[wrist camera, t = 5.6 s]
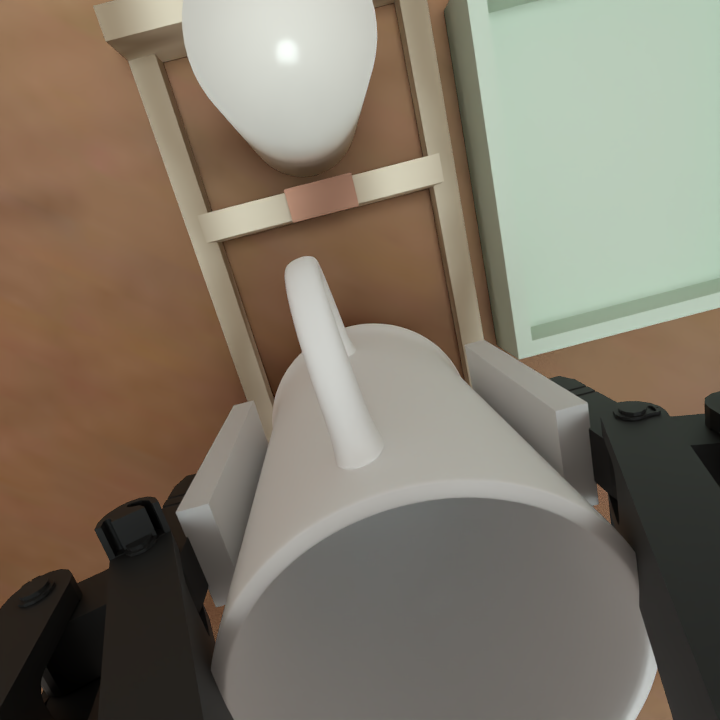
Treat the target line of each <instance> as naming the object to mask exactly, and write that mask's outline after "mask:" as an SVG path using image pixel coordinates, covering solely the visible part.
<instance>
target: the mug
mask: <svg viewBox="0 0 720 720" xmlns="http://www.w3.org/2000/svg"><path fill="white" fill-rule="evenodd" d="M285 285H286V292H287V297H288V302H289V306H290V310H291V314H292V318H293V322H294V326H295V330H296V333H297V337H298V340H299V344H300V347H301V350H302V353H300V354H299V356H298V357H297V358H296V359H295V360H294V361H293V362H292V364H291V365H290V366H289V368H288V369H287V371H286V372H285V374H284V376H283V378H282V380H281V382H280V384H279V387H278V389H277V392H276V396H275V400H274V405H273V413H272V427H273V430H272V434H271V437H270V441H269V445H268V448H267V452H266V456H265V460H264V463H263V467H262V471H261V474H260V478H259V482H258V486H257V489H256V493H255V497H254V500H253V504H252V508H251V512H250V515H249V519H248V523H247V526H246V530H245V534H244V537H243V541H242V545H241V549H240V552H239V556H238V560H237V563H236V567H235V571H234V575H233V578H232V582H231V586H230V589H229V593H228V597H227V601H226V604H225V608H224V612H223V615H222V619H221V623H220V627H219V631H218V635H217V639H216V643H215V647H214V652H213V657H212V664H211V672H212V674H213V677H214V679H215V682H216V684H217V686H218V689H219V691H220V693H221V695H222V698H223V700H224V702H225V704H226V706H227V708H228V710H229V712H230V713H231V715H232V717H233V719H234V720H635V719H636V717H637V716H638V714H639V712H640V710H641V709H642V707H643V705H644V703H645V701H646V699H647V696H648V694H649V692H650V689H651V687H652V684H653V681H654V678H655V675H656V671H657V664H656V661H655V657H654V654H653V651H652V648H651V644H650V641H649V638H648V634H647V631H646V628H645V624H644V621H643V618H642V615H641V611H640V608H639V580H638V569H637V561H636V553H635V551H634V550H633V549H632V547H631V546H630V545H629V544H628V542H627V541H626V540H625V539H624V538H623V537H622V536H621V535H620V533H619V532H618V531H617V530H616V529H615V528H614V527H613V526H612V525H611V524H610V523H609V522H608V521H607V520H606V519H605V518H604V517H603V516H602V515H601V514H600V513H599V512H598V511H597V510H596V509H595V508H594V507H593V506H592V505H591V504H590V503H589V502H588V501H587V500H586V499H585V498H584V497H583V496H581V495H580V494H579V493H578V492H577V491H576V490H575V489H574V488H573V487H572V486H571V485H570V484H569V483H568V482H567V481H566V480H565V479H564V478H563V477H562V476H561V475H560V474H559V473H558V472H557V471H556V470H555V469H554V468H553V467H552V466H551V465H550V464H549V463H548V462H547V461H546V460H545V459H544V458H543V457H542V456H541V455H540V454H539V453H538V452H537V451H536V450H535V449H534V448H533V447H532V446H530V445H529V444H528V443H527V442H526V441H525V440H524V439H523V438H522V437H521V436H520V435H519V434H518V433H517V432H516V431H515V430H514V429H513V428H512V427H511V426H510V425H509V424H508V423H507V422H506V421H505V420H504V419H503V418H502V417H501V416H500V415H499V414H498V413H497V412H496V411H495V410H494V409H493V408H492V407H491V406H490V405H489V404H488V403H487V402H486V401H485V400H484V399H483V398H482V397H481V396H479V395H478V394H477V393H476V392H475V391H474V390H473V389H472V388H471V387H470V386H469V385H468V384H467V383H466V382H465V381H464V380H463V379H462V378H461V376H460V374H459V372H458V370H457V369H456V367H455V365H454V364H453V363H452V361H451V360H450V359H449V357H448V356H447V355H446V354H445V353H444V352H443V351H442V350H441V349H440V348H439V347H438V346H437V345H435V344H434V343H433V342H431V341H430V340H429V339H427V338H425V337H424V336H422V335H420V334H418V333H416V332H414V331H411V330H409V329H406V328H402V327H399V326H394V325H388V324H376V323H371V324H359V325H353V326H349V327H344V324H343V322H342V319H341V317H340V314H339V311H338V309H337V306H336V304H335V301H334V299H333V296H332V294H331V291H330V289H329V286H328V284H327V281H326V279H325V276H324V274H323V272H322V269H321V267H320V265H319V263H318V261H317V260H316V259H315V258H314V257H312V256H304V257H300V258H297V259H295V260H293V261H292V262H290V263H289V264H288V265H287V267H286V269H285Z"/></svg>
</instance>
